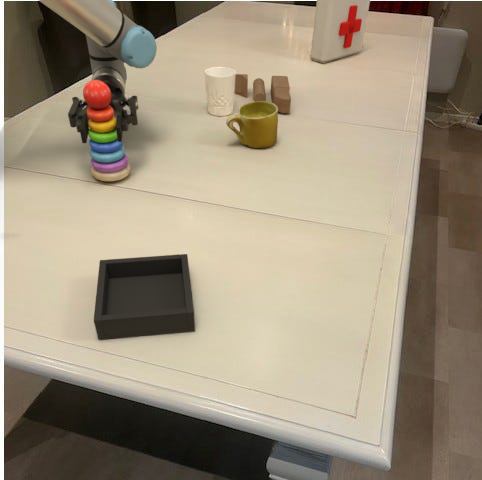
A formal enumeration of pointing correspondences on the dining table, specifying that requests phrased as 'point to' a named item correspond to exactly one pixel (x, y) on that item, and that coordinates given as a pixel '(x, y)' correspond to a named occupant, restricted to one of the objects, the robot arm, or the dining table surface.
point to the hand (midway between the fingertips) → (101, 135)
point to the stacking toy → (104, 134)
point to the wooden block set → (278, 90)
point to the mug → (256, 124)
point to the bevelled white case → (338, 29)
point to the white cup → (220, 90)
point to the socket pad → (143, 297)
